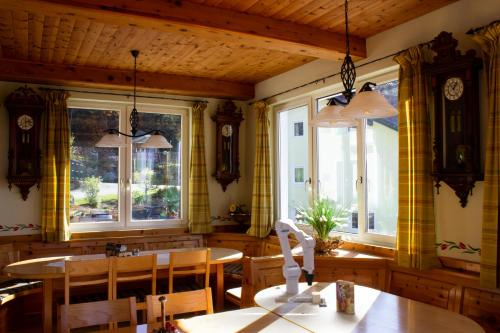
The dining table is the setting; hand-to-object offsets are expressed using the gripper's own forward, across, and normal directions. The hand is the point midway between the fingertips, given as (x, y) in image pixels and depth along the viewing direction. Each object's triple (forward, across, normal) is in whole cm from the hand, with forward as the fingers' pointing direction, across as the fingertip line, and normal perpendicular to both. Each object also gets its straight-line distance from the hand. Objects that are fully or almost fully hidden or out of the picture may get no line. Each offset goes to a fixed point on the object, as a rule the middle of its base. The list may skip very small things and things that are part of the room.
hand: (308, 283), depth 238 cm
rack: (+9, +5, -1) cm, 10 cm away
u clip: (+8, +5, +3) cm, 10 cm away
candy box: (+9, +20, +16) cm, 27 cm away
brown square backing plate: (+9, +3, -16) cm, 18 cm away
